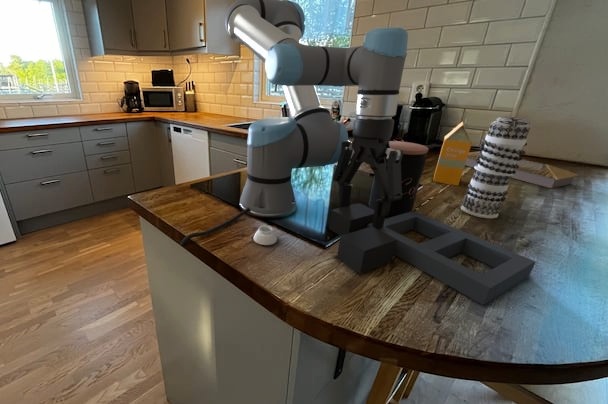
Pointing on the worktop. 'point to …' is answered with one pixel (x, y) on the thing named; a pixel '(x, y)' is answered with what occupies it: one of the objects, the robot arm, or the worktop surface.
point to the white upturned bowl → (265, 236)
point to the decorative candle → (496, 166)
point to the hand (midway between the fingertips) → (359, 219)
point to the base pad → (450, 243)
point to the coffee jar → (404, 177)
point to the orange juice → (453, 156)
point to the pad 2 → (366, 249)
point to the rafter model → (534, 172)
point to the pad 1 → (350, 218)
